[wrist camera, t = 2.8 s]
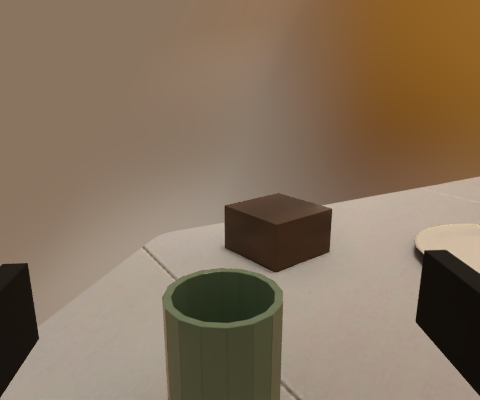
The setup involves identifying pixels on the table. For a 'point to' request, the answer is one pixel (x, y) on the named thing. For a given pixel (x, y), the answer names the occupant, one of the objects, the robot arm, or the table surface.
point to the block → (277, 230)
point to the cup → (223, 336)
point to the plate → (453, 241)
